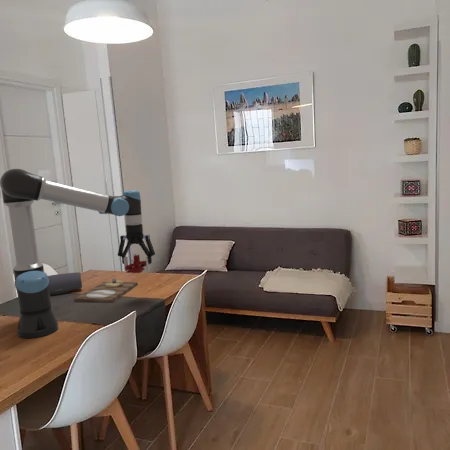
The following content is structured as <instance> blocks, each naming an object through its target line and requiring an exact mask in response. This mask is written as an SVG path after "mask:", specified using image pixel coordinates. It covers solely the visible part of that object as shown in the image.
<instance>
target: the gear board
mask: <svg viewBox="0 0 450 450" xmlns="http://www.w3.org/2000/svg"><path fill="white" fill-rule="evenodd" d="M138 285H139V284H138V281H122V280H117V279H116V278H112V279H111V281H103V282H101V283H99V284H97V285H96V286H94V287H92V288H91V289H89V290H87V291H85V292H83V293H82V294H80V295H78V296H77V297H75V298H74V299H73V301H74V302H75V303H76V302H77V303H114V302H116V301H117V300H118V299H119V298H121V297H122V296H124V295H125V294H127V293H128V292H130V291H132V289H134V288H135V287H137V286H138Z"/></svg>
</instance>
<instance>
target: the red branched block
mask: <svg viewBox="0 0 450 450" xmlns="http://www.w3.org/2000/svg"><path fill="white" fill-rule="evenodd" d="M140 259H141V258H140V255H139V254H134V255H133V260H131V262H132V263H128V265H127V266H126V267H125V269H126V270H128V271H125V273H126V274H129V273H130V274H141V273H142V272H144V270H145V267H146V260H142V261H141V260H140ZM125 269H124V270H125Z"/></svg>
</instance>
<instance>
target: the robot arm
mask: <svg viewBox="0 0 450 450" xmlns="http://www.w3.org/2000/svg"><path fill="white" fill-rule="evenodd" d="M0 188H1V195H2V202H3V204H4V205H5V206H6V207H7V208H8V214H9V220H10V228H11V235H12V242H13V248H14V257H15V263H16V265H15V266H14V267H13V268H12V270H13V276H14V277H13V278H14V286H15V289H16V294H17V299H18V308H19V320H18V323H17V324H18V325H17V329H16V331H17V336H18V338H23V339H34V338H40V337H45V336H47V335H50V334H52V333H55V332H56V331H57V330H58V329H59V322H58V320H57V318H56V316H55V314H54V311H53V309H52V302H51V301H52V300H51V295H50V291H49V279H48V276H49V275H48V274H47V273H46V272H45V270H44V263H43V262H41V261H40V260H39V254H38V253H39V252H38V247H37V246H38V245H37V238H36V231H35V225H34V217H33V208H32V204H33V203H34V202H35V201H37V202H39V201H41V200H45V201H50V202H53V203H54V202H55V203H58V204H59V203H60V204H63V205H67V206H73V207H77V208H81V209H87V210H90V211H91V210H92V211H96V212H98V214H100V215H107V214H110V215H113V216H115V217H122V216H124V218H125V219H124V220H125V224H126V225H125V232H126V234H122V235H120V237H119V238H120V242H119V247H118V251H117V256H118V257H121V259H122V260H121V261H122V262H121V263H122V265H124V266H123V268H124V272H127V271H128V270H126V269H125V267H126V266H127V265H129V258H128V256H127V254H128V252H129V250H130V248H131V246H132V245H138V246H140V247H141V249H142V250H143V252H144V254H145V255H146V257H145V261H146V266H145V267H146V272H150V271H151V264H153V263H152V261H153V260H152V258H153V256H155V255H156V252H155V250H154V246H153V244H152V242H151V236H150V234H144V228H143V224H142V223H143V215H142V199H141V193H140V191H139V190H138V189H137V190H135V189H133V190H124V191H123V193H122V194H121V195H114V196H112V195H109V194H105V193H101V192H96V191H92V190H89V189H84V188H79V187H76V186H72V185H67V184H63V183H58V182H55V181H50V180H46V179H45V178H44V176H40V175H38V174H34V173H32V172H29V171H26V170H24V169H21V168H11V169H9V170H6V171H5V172H4V173H3V174H2V175H1V178H0ZM143 239H144V240H143ZM126 240H127V243H126ZM144 241H145V242H144ZM125 243H126V246H125ZM145 243H146V244H145Z"/></svg>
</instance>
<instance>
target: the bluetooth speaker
mask: <svg viewBox="0 0 450 450" xmlns="http://www.w3.org/2000/svg"><path fill="white" fill-rule="evenodd" d="M81 274H82V273H81V272H80V271H79V272H78V271H77V272H67V273H58V274H52V275H47V276H48V279H49V291H50V296H54V295H61V294H67V293H71V291H74V290H75V291H76V290H78V289H82V288H83V283H82V275H81Z"/></svg>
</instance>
